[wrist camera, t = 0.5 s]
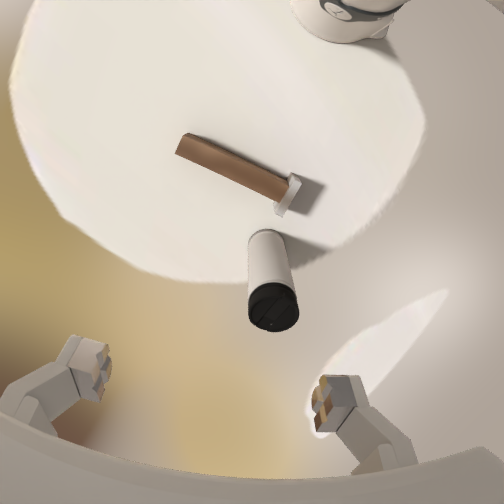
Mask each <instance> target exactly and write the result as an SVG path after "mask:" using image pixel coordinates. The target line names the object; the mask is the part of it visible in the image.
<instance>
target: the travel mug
mask: <svg viewBox="0 0 504 504" xmlns="http://www.w3.org/2000/svg"><path fill="white" fill-rule="evenodd" d="M248 315H249V319H250V322H251V323H252V324H254V325H256V327H258V328H260V329H263V330H267V331H269V332H281V331H284V330H287V329H289V328H291V327H292V326H293V325H294V324H295V323H296V322H297V320H298V318H299V308H298V304H297V297H296V293H295V288H294V283H293V279H292V275H291V270H290V266H289V262H288V257H287V253H286V249H285V244H284V241H283V238H282V236H281V235H280V234H279V233H278V232H276V231H274V230H271V229H262V230H259V231H257V232H255V233H254V234H253V235H252V236H251V238H250V240H249V243H248Z"/></svg>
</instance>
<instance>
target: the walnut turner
mask: <svg viewBox="0 0 504 504" xmlns="http://www.w3.org/2000/svg"><path fill="white" fill-rule="evenodd" d="M175 154H177V155H179V156H181V157H183V158H186V159H188V160H190V161H192V162H194V163H197V164H199V165H201V166H203V167H205V168H208V169H210V170H212V171H214V172H216V173H218V174H220V175H222V176H225V177H227V178H229V179H231V180H233V181H235V182H237V183H239V184H241V185H243V186H245V187H248V188H250V189H252V190H254V191H256V192H258V193H260V194H262V195H264V196H266V197H268V198H270V199H272V200H274V203H273V206H274V210H275V214H277V215H279V216H281V217H283V215H284V214H285V212H286V210H287V208H288V207H289V205H290V203H291V202H292V200H293V198H294V197H295V195H296V193H297V191H298V190H299V188H300V186H301V185H302V182H301V181H300V179H299V178H298V176H297V175H295V174H293V173H290V175H289V176H288V178H287V180H285V179H283V178H281V177H279V176H277V175H275V174H273V173H271V172H269V171H267V170H265V169H263V168H261V167H259V166H257V165H255V164H253V163H251V162H249V161H247V160H245V159H243V158H241V157H239V156H237V155H235V154H233V153H231V152H229V151H227V150H225V149H222V148H220V147H218V146H216V145H214V144H212V143H210V142H207V141H205V140H203V139H201V138H199V137H196V136H194V135H192V134H190V133H187V134H185V135H183V136H182V139H181V141H180V143H179V145H178V147H177V150H176V152H175Z"/></svg>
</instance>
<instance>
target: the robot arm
mask: <svg viewBox="0 0 504 504" xmlns="http://www.w3.org/2000/svg"><path fill="white" fill-rule="evenodd" d="M408 1H409V0H290V5H291V9H292V11H293V14H294V16H295V17H296V19H297V20H298V21H299V23H300V24H301V25H302V26H303V27H304V28H305V29H306V30H308V31H309V32H310V33H312V34H313V35H315V36H317V37H319V38H321V39H324V40H327V41H330V42H335V43H351V42H355V41H358V40H361V39H364V38H374V39H381V38H383V37H385V36H386V34H387V31H388V27H389V25H390V24H391V23H392V22H393V21H394V20H393V16H394V13H395V12H396V11H397V10H399V9H400V8H401V7H402V6H403V4H404V3H406V2H408ZM486 1H488V2H489V3H490V4H492V5H493V6H494V7H495V8H497V9H498V10H499V11H501V12H502V13H503V14H504V0H486ZM109 351H110V350H109V346H108V344H105V343H101V342H98V341H95V340H91V339H88V338H83V337H80V336H77V335H74V334H73V335H71V336H70V337H69V339H68V341H67V342H66V344H65V346H64V347H63V349H62V351H61V352H60V354H59V356H58V358H57V360H56V361H55V363H53V362H50V363H48V364H47V365H45V366H43V367H41V368H39V369H37V370H35V371H34V372H32V373H30V374H28V375H26V376H24V377H22V378H20V379H19V380H17V381H15V382H13V383H11V384H9V385H8V386H7V388H6V390H5V391H4V393H3V395H2V397H1V398H0V504H504V463H503V461H502V460H500V459H499V458H498V457H497V456H496V455H494V454H493V453H492V452H490V451H489V450H487V449H486V448H484V447H476V448H472V449H470V450H466V451H463V452H460V453H457V454H454V455H450V456H447V457H444V458H440V459H436V460H432V461H428V462H424V463H420V464H419V463H418V461H417V457H416V454H415V451H414V448H413V446H412V443H411V440H410V439H409V438H408V437H407V436H406V435H404V434H403V433H402V432H401V431H400V430H399V429H398V428H397V427H395V426H394V425H393V424H392V423H391V422H390V421H389V420H388V419H386V418H385V417H384V416H383V415H382V414H381V413H380V412H378V410H376V409H375V408H374V407H370V405H369V402H368V399H367V396H366V393H365V390H364V387H363V384H362V381H361V378H360V377H359V375H322V376H321V378H320V380H319V384H320V385H319V386H317V387H315V389H314V391H313V394H312V410H313V411H314V412H315V413H316V416H315V418H314V422H315V428H316V432H336V434H337V435H338V437H339V438H340V439H341V440H342V441H343V443H344V444H345V445H346V446H347V448H348V449H349V450H350V451H351V452H352V454H353V455H354V456H355V457H356V459H357V460H358V461H359V462H360V464H359V465H358V466H357V467H356V468H355V469H354V470H353V471H352V472H351V475H350V476H340V477H328V478H312V479H253V478H237V477H225V476H215V475H205V474H198V473H191V472H185V471H178V470H173V469H167V468H162V467H157V466H152V465H147V464H143V463H139V462H134V461H130V460H126V459H122V458H119V457H115V456H111V455H108V454H105V453H101V452H98V451H95V450H92V449H88V448H85V447H83V446H80V445H77V444H74V443H71V442H68V441H66V440H63V439H60V438H58V437H57V435H58V434H57V432H56V430H55V429H54V427H53V426H52V424H51V421H52V420H54V419H55V418H56V417H58V416H59V415H60V414H62V413H63V412H64V411H65V410H67V409H68V408H69V407H70V406H72V405H73V404H74V403H75V402H77V401H78V400H79V399H80V397H81V398H84V399H88V400H91V401H95V402H99V403H100V401H101V399H102V396H103V394H104V391H105V388H104V383H106V382H108V381H109V378H110V375H111V370H112V361H111V358H110V357H109V356H108V353H109Z"/></svg>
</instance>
